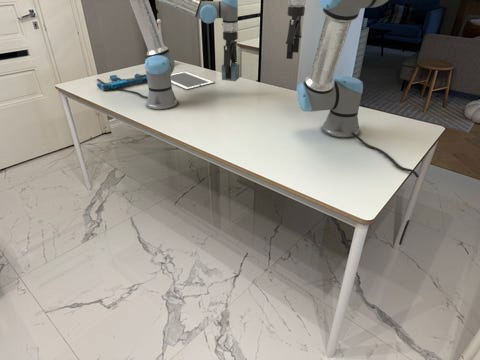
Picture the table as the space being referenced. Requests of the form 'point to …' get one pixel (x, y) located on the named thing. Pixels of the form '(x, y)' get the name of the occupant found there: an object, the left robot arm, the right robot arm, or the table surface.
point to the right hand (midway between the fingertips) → (292, 55)
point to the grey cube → (233, 72)
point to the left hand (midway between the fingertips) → (230, 76)
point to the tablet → (188, 80)
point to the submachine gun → (122, 82)
